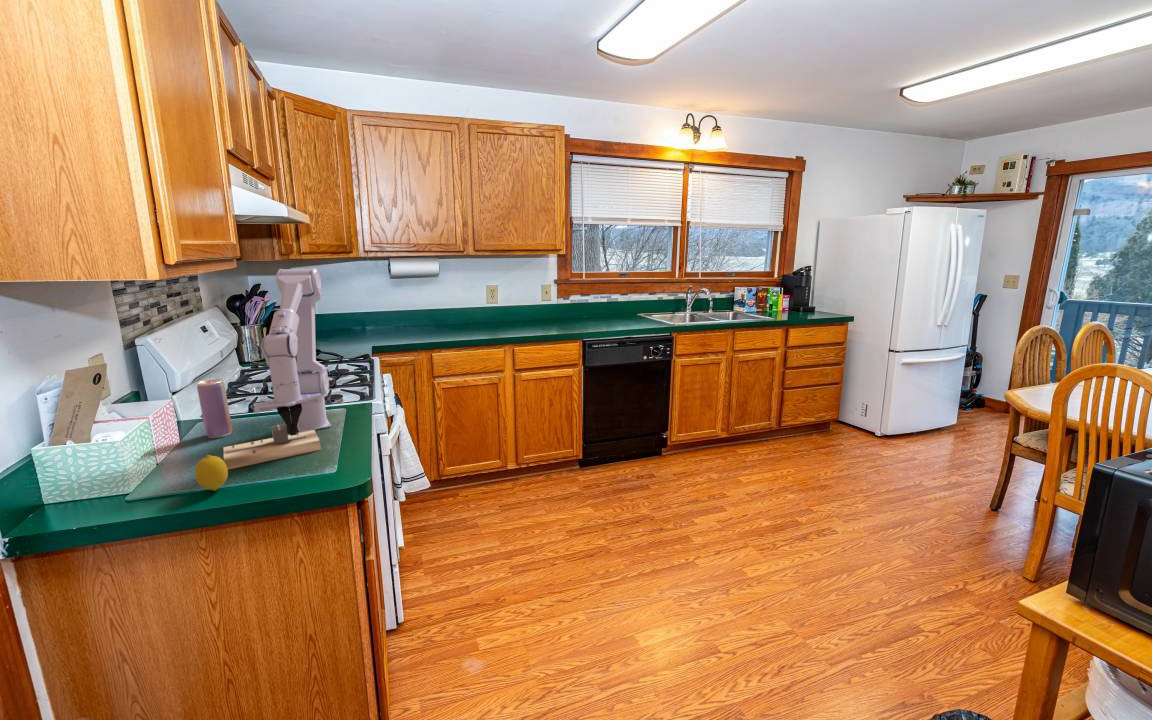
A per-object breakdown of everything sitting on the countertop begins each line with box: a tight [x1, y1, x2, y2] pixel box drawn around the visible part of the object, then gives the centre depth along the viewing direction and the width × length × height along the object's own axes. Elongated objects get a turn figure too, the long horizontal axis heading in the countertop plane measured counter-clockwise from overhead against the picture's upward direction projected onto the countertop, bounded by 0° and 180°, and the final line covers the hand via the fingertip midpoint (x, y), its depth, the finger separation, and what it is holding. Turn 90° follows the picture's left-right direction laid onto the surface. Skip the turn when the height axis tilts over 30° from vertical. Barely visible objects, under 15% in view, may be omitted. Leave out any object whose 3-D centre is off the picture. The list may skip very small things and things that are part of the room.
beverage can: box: [196, 378, 233, 439], centre depth 138 cm, size 6×6×15 cm
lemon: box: [194, 454, 229, 492], centre depth 108 cm, size 6×6×8 cm
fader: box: [270, 423, 289, 444], centre depth 127 cm, size 4×3×4 cm
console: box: [223, 430, 322, 471], centre depth 127 cm, size 9×20×3 cm, turn 124°
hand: (293, 434), depth 129 cm, fingers closed
